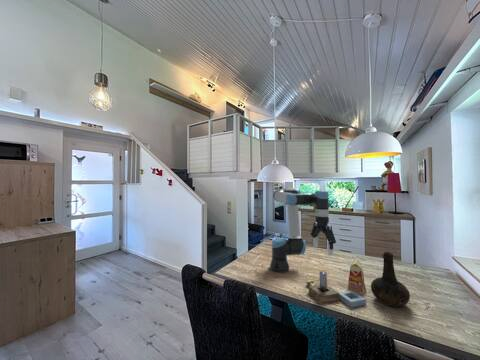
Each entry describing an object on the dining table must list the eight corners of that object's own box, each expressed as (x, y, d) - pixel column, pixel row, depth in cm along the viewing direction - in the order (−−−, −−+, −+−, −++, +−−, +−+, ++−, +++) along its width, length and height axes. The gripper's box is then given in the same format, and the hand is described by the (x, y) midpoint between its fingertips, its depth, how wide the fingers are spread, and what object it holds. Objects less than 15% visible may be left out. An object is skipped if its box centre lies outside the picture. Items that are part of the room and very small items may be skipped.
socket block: (308, 292, 127) (308, 286, 127) (325, 289, 130) (325, 283, 130) (321, 303, 115) (321, 296, 116) (339, 299, 119) (338, 292, 119)
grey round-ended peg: (318, 294, 124) (318, 271, 125) (324, 293, 125) (323, 270, 126) (322, 298, 120) (322, 274, 121) (328, 297, 121) (328, 273, 122)
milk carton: (350, 285, 136) (349, 255, 137) (366, 289, 130) (365, 258, 131) (347, 290, 129) (346, 258, 130) (364, 295, 123) (363, 262, 124)
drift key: (306, 285, 136) (306, 280, 136) (312, 284, 137) (312, 279, 137) (314, 291, 127) (314, 287, 127) (320, 290, 129) (320, 286, 129)
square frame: (337, 297, 121) (337, 292, 121) (351, 295, 124) (351, 290, 124) (351, 307, 111) (351, 302, 111) (365, 304, 114) (365, 299, 114)
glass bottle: (410, 301, 117) (409, 252, 118) (409, 316, 104) (408, 261, 104) (374, 290, 129) (373, 246, 129) (368, 303, 115) (367, 253, 116)
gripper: (304, 213, 135) (305, 245, 135) (331, 219, 111) (331, 258, 111) (314, 213, 137) (315, 244, 137) (342, 218, 113) (343, 257, 113)
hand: (322, 251), depth 124 cm, fingers open, 13 cm apart
